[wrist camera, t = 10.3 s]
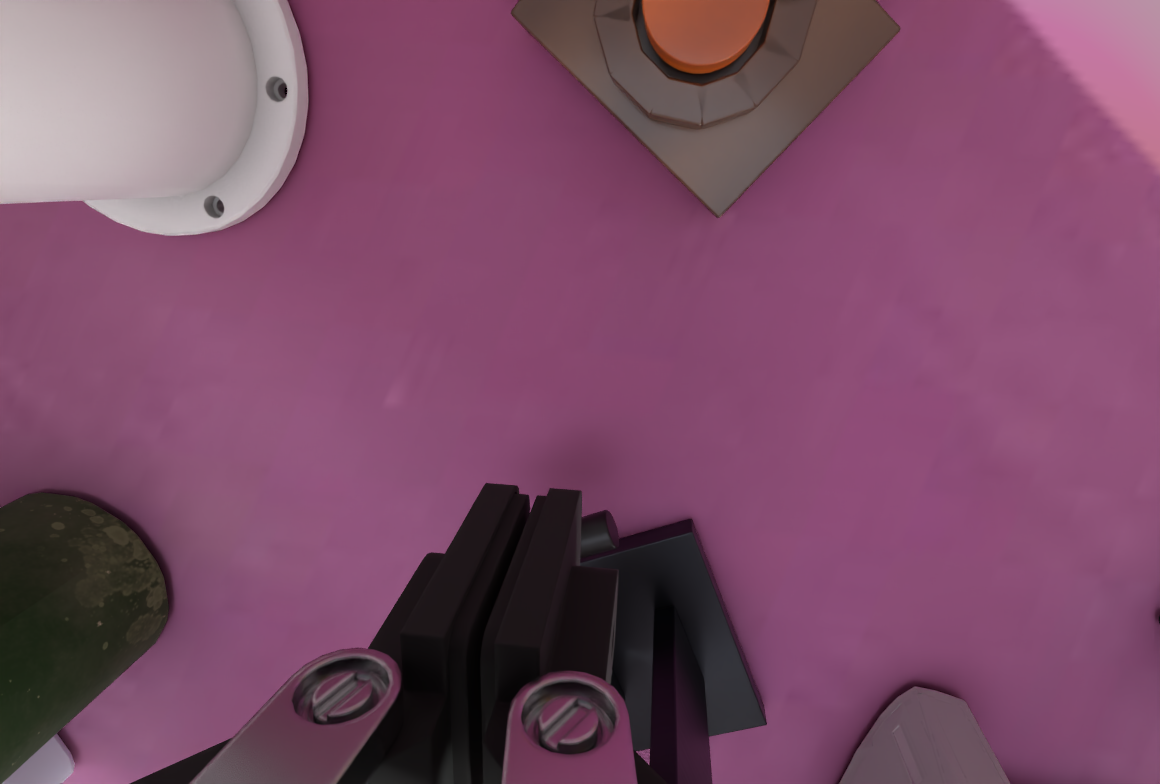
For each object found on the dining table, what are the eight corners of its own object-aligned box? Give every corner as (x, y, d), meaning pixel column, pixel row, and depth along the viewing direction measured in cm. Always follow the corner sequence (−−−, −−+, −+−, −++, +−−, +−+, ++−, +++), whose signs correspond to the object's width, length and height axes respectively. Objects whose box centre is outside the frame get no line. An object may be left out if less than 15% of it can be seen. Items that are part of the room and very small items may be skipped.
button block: (522, 26, 24) (496, -2, 20) (676, -180, 22) (679, -255, 18) (714, 215, 25) (723, 222, 22) (881, 41, 23) (923, 15, 19)
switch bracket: (513, 568, 32) (430, 782, 20) (691, 518, 30) (706, 724, 18) (595, 741, 34) (562, 1012, 23) (763, 705, 32) (815, 984, 21)
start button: (619, 16, 20) (615, 3, 19) (703, -88, 19) (706, -113, 18) (701, 99, 21) (704, 93, 19) (787, 2, 20) (798, -14, 18)
